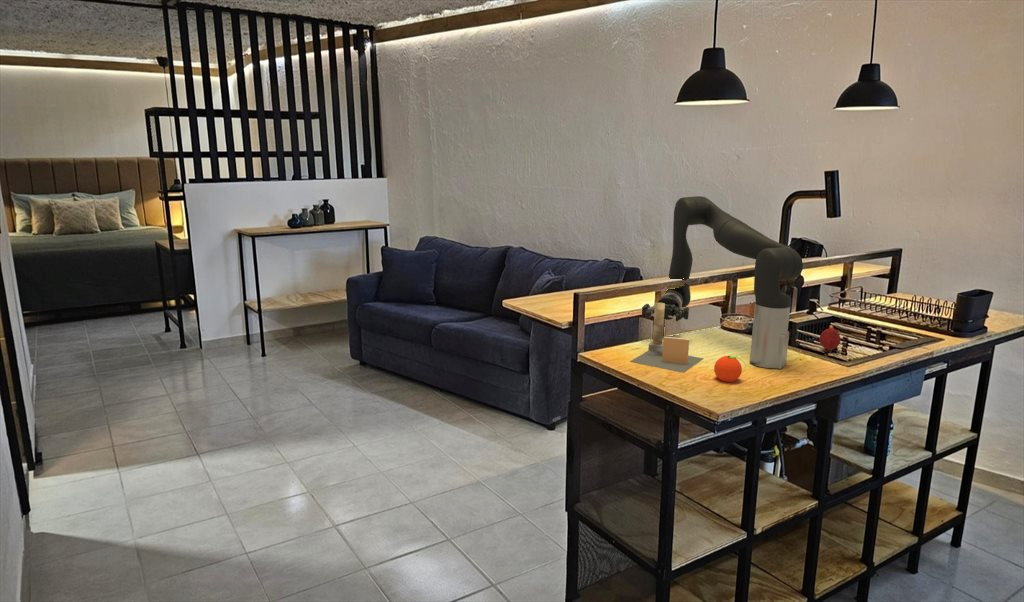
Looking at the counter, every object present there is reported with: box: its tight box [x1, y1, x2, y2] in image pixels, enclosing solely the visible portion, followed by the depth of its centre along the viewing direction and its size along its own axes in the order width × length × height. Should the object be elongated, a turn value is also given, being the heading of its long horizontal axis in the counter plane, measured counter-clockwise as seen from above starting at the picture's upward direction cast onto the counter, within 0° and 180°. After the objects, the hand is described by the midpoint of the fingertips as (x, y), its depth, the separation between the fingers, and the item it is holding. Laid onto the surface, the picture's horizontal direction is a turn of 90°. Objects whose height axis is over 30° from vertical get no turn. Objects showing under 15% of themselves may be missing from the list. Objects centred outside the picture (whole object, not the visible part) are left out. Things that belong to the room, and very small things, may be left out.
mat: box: [629, 350, 705, 374], centre depth 191 cm, size 16×16×1 cm
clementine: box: [713, 355, 747, 383], centre depth 174 cm, size 8×7×7 cm
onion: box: [819, 324, 841, 351], centre depth 203 cm, size 6×6×8 cm
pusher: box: [647, 302, 665, 356], centre depth 195 cm, size 4×4×15 cm
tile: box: [662, 336, 690, 364], centre depth 188 cm, size 7×1×7 cm, turn 70°
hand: (662, 316), depth 203 cm, fingers open, 8 cm apart
